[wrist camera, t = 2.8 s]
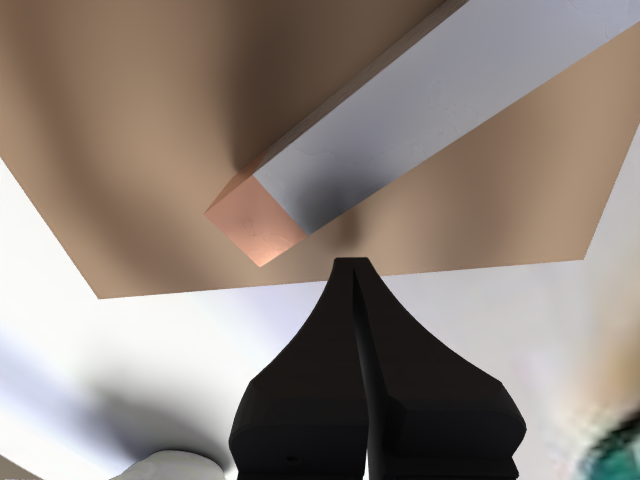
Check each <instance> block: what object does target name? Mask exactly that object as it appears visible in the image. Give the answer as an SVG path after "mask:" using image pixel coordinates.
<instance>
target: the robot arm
mask: <svg viewBox="0 0 640 480" xmlns="http://www.w3.org/2000/svg"><path fill="white" fill-rule="evenodd" d="M526 431H527V429H526V423H525V421H524V419H523V417H522V415H521V413H520V411H519V410H518V408H517V406H516V404H515V403H514V401H513V399H512V398H511V396H510V395H509V393H508V392H507V390H506V389H505V387H504V386H503V384H502V383H501V382H500V381H499V380H497V379H495V378H494V377H492V376H490V375H489V374H487V373H486V372H484V371H482V370H481V369H479V368H478V367H476V366H474V365H473V364H471V363H470V362H468V361H467V360H465V359H464V358H462V357H461V356H459V355H458V354H457V353H455V352H454V351H452V350H451V349H450V348H448V347H447V346H446V345H445V344H443V343H442V342H441V341H440V340H438V339H437V338H436V337H435V336H433V335H432V334H431V333H430V332H429V331H427V330H426V329H425V328H424V327H423V326H422V325H421V324H420V323H419V322H418V321H417V320H416V319H415V318H414V317H413V316H412V315H411V314H410V313H409V312H408V311H407V310H406V309H405V308H404V307H403V306H402V304H401V303H400V302H399V301H398V300H397V299H396V297H395V296H394V295H393V294H392V292H391V291H390V290H389V289H388V287H387V286H386V285H385V283H384V282H383V280H382V279H381V278H380V276H379V275H378V273H377V272H376V270H375V268H374V267H373V265H372V263H371V261H370V259H369V258H367V257H336V258H335V259H334V263H333V268H332V271H331V274H330V277H329V279H328V282H327V284H326V286H325V289H324V291H323V293H322V295H321V297H320V299H319V300H318V302H317V304H316V306H315V308H314V309H313V311H312V313H311V314H310V316H309V317H308V319H307V320H306V322H305V323H304V324H303V326H302V327H301V328H300V330H299V331H298V332H297V334H296V335H295V336H294V338H293V339H292V340H291V341H290V342H289V343H288V345H287V346H286V347H285V348H284V349H283V350H282V351H281V352H280V353H279V354H278V355H277V357H276V358H275V359H274V360H273V361H272V362H271V363H270V364H269V365H267V366H266V367H265V368H264V369H263V370H262V371H261V372H260V373H259V374H258V375H257V376H255V377H254V378H253V379H252V380H251V381H250V383H249V385H248V386H247V389H246V391H245V393H244V395H243V397H242V399H241V402H240V404H239V407H238V409H237V412H236V415H235V418H234V422H233V426H232V429H231V433H230V437H229V441H228V442H229V449H230V451H231V454H232V456H233V459H234V461H235V464H236V466H237V469H238V471H239V472H238V477H237V480H363V476H364V472H365V463H366V453H368V468H369V480H516V478H518V477H519V472H518V470H517V468H516V465H515V463H514V461H513V459H512V456H513V454H514V453H515V451H516V450H517V448H518V447H519V445H520V444H521V442H522V440H523V438H524V436H525V433H526ZM5 480H16V479H5ZM17 480H18V479H17ZM20 480H21V479H20Z"/></svg>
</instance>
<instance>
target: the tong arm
mask: <svg viewBox="0 0 640 480" xmlns="http://www.w3.org/2000/svg"><path fill="white" fill-rule="evenodd" d="M639 21H640V0H447V1H446V2H445V3H443V4H442V5H441V6H440V7H439V8H437V9H436V10H435V11H434V12H433V13H431V14H430V15H429V16H428V17H426V18H425V19H424V20H423V21H422V22H420V23H419V24H418V25H417V26H416V27H414V28H413V29H412V30H411V31H409V32H408V33H407V34H406V35H405V36H403V37H402V38H401V39H400V40H399V41H397V42H396V43H395V44H394V45H392V46H391V47H390V48H389V49H388V50H386V51H385V52H384V53H383V54H382V55H380V56H379V57H378V58H377V59H375V60H374V61H373V62H372V63H371V64H369V65H368V66H367V67H366V68H365V69H363V70H362V71H361V72H360V73H358V74H357V75H356V76H355V77H354V78H352V79H351V80H350V81H349V82H348V83H346V84H345V85H344V86H343V87H342V88H340V89H339V90H338V91H337V92H335V93H334V94H333V95H332V96H331V97H329V98H328V99H327V100H326V101H325V102H323V103H322V104H321V105H320V106H318V107H317V108H316V109H315V110H314V111H312V112H311V113H310V114H309V115H308V116H306V117H305V118H304V119H303V120H301V121H300V122H299V123H298V124H297V125H295V126H294V127H293V128H292V129H291V130H289V131H288V132H287V133H286V134H284V135H283V136H282V137H281V138H280V139H278V140H277V141H276V142H275V143H274V144H272V145H271V146H270V147H269V148H267V149H266V150H265V151H264V152H263V153H261V154H260V155H259V156H258V157H257V158H255V159H254V160H253V161H252V162H250V163H249V164H248V165H247V166H246V167H244V168H243V169H242V170H241V171H240V172H238V173H237V174H236V175H235V176H234V177H232V178H231V180H230V181H229V182H228V183H227V185H226V186H225V187H224V188H223V190H222V191H221V192H220V194H219V195H218V196H217V197H216V199H215V200H214V201H213V202H212V204H211V205H210V206H209V207H208V209H207V210H206V211H205V213H204V214H203V215H205V216H206V217H207V218H208V219H209V220H210V221H211V222H212V223H213V224H214V225H215V226H216V227H217V228H218V229H219V230H220V231H222V232H223V233H224V234H225V235H226V236H227V237H228V238H229V239H230V240H231V241H232V242H233V243H234V244H235V245H236V246H237V247H239V248H240V249H241V250H242V251H243V252H244V253H245V254H246V255H247V256H248V257H249V258H250V259H251V260H252V261H253V262H254V263H256V264H257V265H258V266H259V267H261V266H263V265H264V264H266V263H267V262H269V261H271V260H272V259H274V258H275V257H277V256H278V255H280V254H281V253H283V252H284V251H286V250H287V249H289V248H291V247H292V246H294V245H295V244H297V243H298V242H300V241H301V240H303V239H304V238H306V237H307V236H309V235H311V234H312V233H314V232H315V231H317V230H318V229H320V228H321V227H323V226H324V225H326V224H328V223H329V222H331V221H332V220H334V219H335V218H337V217H338V216H340V215H341V214H343V213H344V212H346V211H348V210H349V209H351V208H352V207H354V206H355V205H357V204H358V203H360V202H361V201H363V200H365V199H366V198H368V197H369V196H371V195H372V194H374V193H375V192H377V191H378V190H380V189H381V188H383V187H385V186H386V185H388V184H389V183H391V182H392V181H394V180H395V179H397V178H398V177H400V176H401V175H403V174H405V173H406V172H408V171H409V170H411V169H412V168H414V167H415V166H417V165H418V164H420V163H422V162H423V161H425V160H426V159H428V158H429V157H431V156H432V155H434V154H435V153H437V152H438V151H440V150H442V149H443V148H445V147H446V146H448V145H449V144H451V143H452V142H454V141H455V140H457V139H459V138H460V137H462V136H463V135H465V134H466V133H468V132H469V131H471V130H472V129H474V128H475V127H477V126H479V125H480V124H482V123H483V122H485V121H486V120H488V119H489V118H491V117H492V116H494V115H495V114H497V113H499V112H500V111H502V110H503V109H505V108H506V107H508V106H509V105H511V104H512V103H514V102H516V101H517V100H519V99H520V98H522V97H523V96H525V95H526V94H528V93H529V92H531V91H532V90H534V89H536V88H537V87H539V86H540V85H542V84H543V83H545V82H546V81H548V80H549V79H551V78H553V77H554V76H556V75H557V74H559V73H560V72H562V71H563V70H565V69H566V68H568V67H569V66H571V65H573V64H574V63H576V62H577V61H579V60H580V59H582V58H583V57H585V56H586V55H588V54H589V53H591V52H593V51H594V50H596V49H597V48H599V47H600V46H602V45H603V44H605V43H606V42H608V41H610V40H611V39H613V38H614V37H616V36H617V35H619V34H620V33H622V32H623V31H625V30H626V29H628V28H630V27H631V26H633V25H634V24H636V23H637V22H639Z"/></svg>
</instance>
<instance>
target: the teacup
mask: <svg viewBox="0 0 640 480" xmlns="http://www.w3.org/2000/svg"><path fill="white" fill-rule="evenodd" d="M109 480H226V479H225V475H224V472H223V471H222V469H221V468H220V467H219V466H218V465H217V464H216V463H215V462H213V461H212V460H210V459H207V458H205V457H203V456H200V455H197V454H194V453H189V452H184V451H172V450H167V451H159V452H157V453H154V454H152V455H150V456H149V457H148V458H146V459H144V460H142V461H139V462H137V463H135V464H133V465H132V466H130V467H129V468H128V469H126V470H125V471H124V472H123V473H122V474H121V475H119V476H116V477H114V478H111V479H109Z"/></svg>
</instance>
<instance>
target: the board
mask: <svg viewBox="0 0 640 480" xmlns="http://www.w3.org/2000/svg"><path fill="white" fill-rule="evenodd" d="M446 1H447V0H0V157H1V159H2V160H3V162H4V163H5V164H6V166H7V167H8V169H9V170H10V172H11V173H12V175H13V176H14V177H15V179H16V180H17V182H18V183H19V185H20V186H21V188H22V189H23V190H24V192H25V193H26V195H27V196H28V198H29V199H30V201H31V202H32V204H33V205H34V206H35V208H36V209H37V211H38V212H39V214H40V215H41V217H42V218H43V219H44V221H45V222H46V224H47V225H48V227H49V228H50V230H51V231H52V232H53V234H54V235H55V237H56V238H57V240H58V241H59V243H60V244H61V245H62V247H63V248H64V250H65V251H66V253H67V254H68V256H69V257H70V258H71V260H72V261H73V263H74V264H75V266H76V267H77V269H78V270H79V271H80V273H81V274H82V276H83V277H84V279H85V280H86V282H87V283H88V285H89V286H90V287H91V289H92V290H93V292H94V293H95V295H96V296H97V298H98V299H107V298H120V297H132V296H144V295H156V294H169V293H181V292H193V291H205V290H218V289H230V288H242V287H254V286H266V285H279V284H291V283H303V282H315V281H328V279H329V277H330V274H331V271H332V268H333V263H334V259H335V258H336V257H367V258H369V259H370V261H371V263H372V265H373V267H374V268H375V270H376V272H377V273H378V275H379V276H389V275H401V274H413V273H425V272H438V271H450V270H462V269H474V268H487V267H499V266H511V265H523V264H536V263H548V262H560V261H572V260H584V257H585V255H586V252H587V250H588V247H589V245H590V243H591V240H592V238H593V235H594V233H595V230H596V228H597V225H598V223H599V221H600V218H601V216H602V213H603V211H604V208H605V206H606V203H607V201H608V199H609V196H610V194H611V191H612V189H613V186H614V184H615V181H616V179H617V177H618V174H619V172H620V169H621V167H622V164H623V162H624V159H625V157H626V155H627V152H628V150H629V147H630V145H631V142H632V140H633V137H634V135H635V133H636V130H637V128H638V125H639V123H640V21H639V22H637V23H636V24H634V25H633V26H631V27H630V28H628V29H626V30H625V31H623V32H622V33H620V34H619V35H617V36H616V37H614V38H613V39H611V40H610V41H608V42H606V43H605V44H603V45H602V46H600V47H599V48H597V49H596V50H594V51H593V52H591V53H589V54H588V55H586V56H585V57H583V58H582V59H580V60H579V61H577V62H576V63H574V64H573V65H571V66H569V67H568V68H566V69H565V70H563V71H562V72H560V73H559V74H557V75H556V76H554V77H553V78H551V79H549V80H548V81H546V82H545V83H543V84H542V85H540V86H539V87H537V88H536V89H534V90H532V91H531V92H529V93H528V94H526V95H525V96H523V97H522V98H520V99H519V100H517V101H516V102H514V103H512V104H511V105H509V106H508V107H506V108H505V109H503V110H502V111H500V112H499V113H497V114H495V115H494V116H492V117H491V118H489V119H488V120H486V121H485V122H483V123H482V124H480V125H479V126H477V127H475V128H474V129H472V130H471V131H469V132H468V133H466V134H465V135H463V136H462V137H460V138H459V139H457V140H455V141H454V142H452V143H451V144H449V145H448V146H446V147H445V148H443V149H442V150H440V151H438V152H437V153H435V154H434V155H432V156H431V157H429V158H428V159H426V160H425V161H423V162H422V163H420V164H418V165H417V166H415V167H414V168H412V169H411V170H409V171H408V172H406V173H405V174H403V175H401V176H400V177H398V178H397V179H395V180H394V181H392V182H391V183H389V184H388V185H386V186H385V187H383V188H381V189H380V190H378V191H377V192H375V193H374V194H372V195H371V196H369V197H368V198H366V199H365V200H363V201H361V202H360V203H358V204H357V205H355V206H354V207H352V208H351V209H349V210H348V211H346V212H344V213H343V214H341V215H340V216H338V217H337V218H335V219H334V220H332V221H331V222H329V223H328V224H326V225H324V226H323V227H321V228H320V229H318V230H317V231H315V232H314V233H312V234H311V235H309V236H307V237H306V238H304V239H303V240H301V241H300V242H298V243H297V244H295V245H294V246H292V247H291V248H289V249H287V250H286V251H284V252H283V253H281V254H280V255H278V256H277V257H275V258H274V259H272V260H271V261H269V262H267V263H266V264H264V265H263V266H261V267H259V266H258V265H257V264H256V263H254V262H253V261H252V260H251V259H250V258H249V257H248V256H247V255H246V254H245V253H244V252H243V251H242V250H241V249H240V248H239V247H237V246H236V245H235V244H234V243H233V242H232V241H231V240H230V239H229V238H228V237H227V236H226V235H225V234H224V233H223V232H222V231H220V230H219V229H218V228H217V227H216V226H215V225H214V224H213V223H212V222H211V221H210V220H209V219H208V218H207V217H206V216H205V215H203V214H204V213H205V211H206V210H207V209H208V207H209V206H210V205H211V204H212V202H213V201H214V200H215V199H216V197H217V196H218V195H219V194H220V192H221V191H222V190H223V188H224V187H225V186H226V185H227V183H228V182H229V181H230V180H231V178H232V177H234V176H235V175H236V174H237V173H238V172H240V171H241V170H242V169H243V168H244V167H246V166H247V165H248V164H249V163H250V162H252V161H253V160H254V159H255V158H257V157H258V156H259V155H260V154H261V153H263V152H264V151H265V150H266V149H267V148H269V147H270V146H271V145H272V144H274V143H275V142H276V141H277V140H278V139H280V138H281V137H282V136H283V135H284V134H286V133H287V132H288V131H289V130H291V129H292V128H293V127H294V126H295V125H297V124H298V123H299V122H300V121H301V120H303V119H304V118H305V117H306V116H308V115H309V114H310V113H311V112H312V111H314V110H315V109H316V108H317V107H318V106H320V105H321V104H322V103H323V102H325V101H326V100H327V99H328V98H329V97H331V96H332V95H333V94H334V93H335V92H337V91H338V90H339V89H340V88H342V87H343V86H344V85H345V84H346V83H348V82H349V81H350V80H351V79H352V78H354V77H355V76H356V75H357V74H358V73H360V72H361V71H362V70H363V69H365V68H366V67H367V66H368V65H369V64H371V63H372V62H373V61H374V60H375V59H377V58H378V57H379V56H380V55H382V54H383V53H384V52H385V51H386V50H388V49H389V48H390V47H391V46H392V45H394V44H395V43H396V42H397V41H399V40H400V39H401V38H402V37H403V36H405V35H406V34H407V33H408V32H409V31H411V30H412V29H413V28H414V27H416V26H417V25H418V24H419V23H420V22H422V21H423V20H424V19H425V18H426V17H428V16H429V15H430V14H431V13H433V12H434V11H435V10H436V9H437V8H439V7H440V6H441V5H442V4H443V3H445V2H446Z"/></svg>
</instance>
